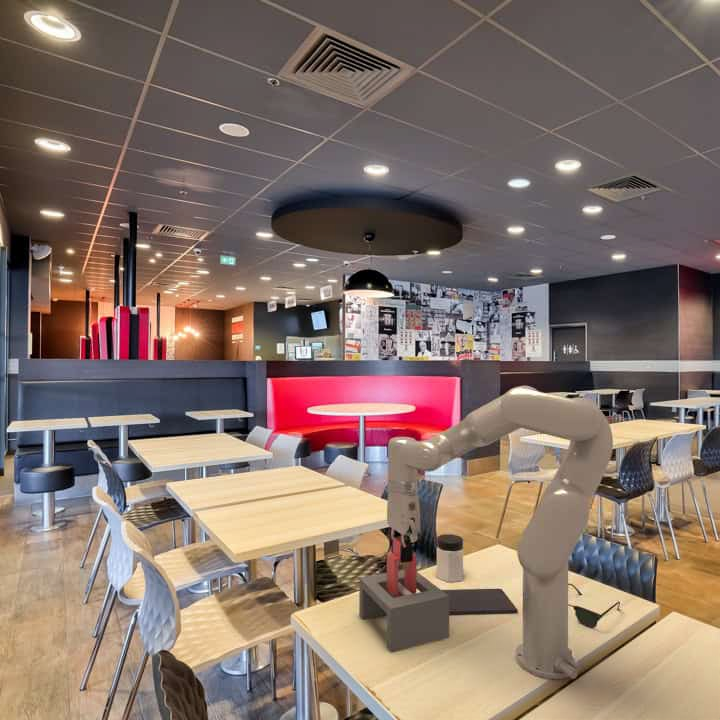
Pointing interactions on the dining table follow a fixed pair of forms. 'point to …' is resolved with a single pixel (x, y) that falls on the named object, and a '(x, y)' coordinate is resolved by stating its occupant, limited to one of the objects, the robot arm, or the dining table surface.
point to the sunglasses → (588, 614)
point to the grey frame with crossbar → (406, 610)
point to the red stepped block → (392, 569)
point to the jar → (450, 558)
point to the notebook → (479, 602)
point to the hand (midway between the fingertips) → (401, 557)
